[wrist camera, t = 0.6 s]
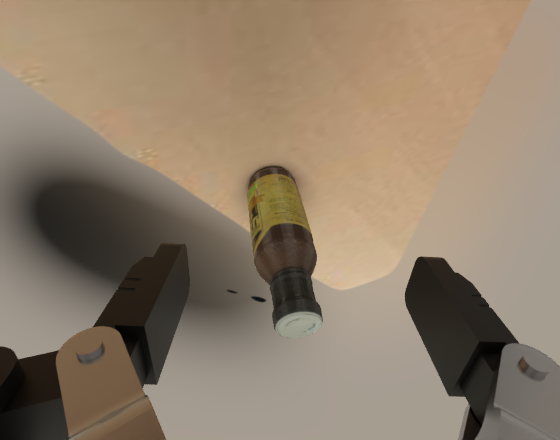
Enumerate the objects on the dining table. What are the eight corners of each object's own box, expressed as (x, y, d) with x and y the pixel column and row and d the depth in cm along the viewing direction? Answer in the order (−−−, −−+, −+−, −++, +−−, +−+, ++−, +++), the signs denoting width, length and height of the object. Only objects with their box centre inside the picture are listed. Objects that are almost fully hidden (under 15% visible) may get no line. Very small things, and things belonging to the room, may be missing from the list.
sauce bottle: (241, 170, 38) (251, 310, 23) (291, 159, 38) (334, 292, 23) (253, 211, 43) (268, 351, 27) (298, 201, 43) (339, 336, 27)
